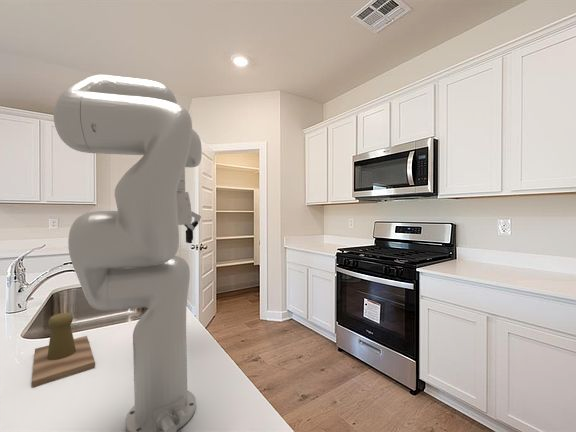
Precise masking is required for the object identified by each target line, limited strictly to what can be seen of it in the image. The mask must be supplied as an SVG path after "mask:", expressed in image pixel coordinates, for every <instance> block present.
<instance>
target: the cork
mask: <svg viewBox="0 0 576 432" xmlns="http://www.w3.org/2000/svg"><path fill="white" fill-rule="evenodd" d="M73 321H74V317H73V315H72V313H70V312H62V313H56V314H54V315H52V316H50V317H49V319H48V323H47V324H48V327H49V328H50V334H49V341H48V342H49V343H48V345H49V349H48V356H47V359H49V360H58V359H62V358H65V357H68V356H70V355H72V354H74V353H75V351H76V349H75V344H74V339H75V338H74V335H73V330H72V326H71V325H72V323H73Z"/></svg>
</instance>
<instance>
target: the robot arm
mask: <svg viewBox="0 0 576 432" xmlns="http://www.w3.org/2000/svg"><path fill="white" fill-rule="evenodd" d="M53 122H54V128H55V130H56V132H57V135H58V136H59V138H60V140H61V141H62V142H63V143H64V144H65V145H66V146H68V147H69V148H70V149H73V150H74V151H76V152H81V153H86V154H104V155H127V156H141V158H140V159H139V160H138V161H137V162H136V163H135V164H133V165H131V167H129V169H128V170H127V171H126V172H125V173H124V174H123V175H122V177H121V178H120V179H119V181H118V183H117V184H116V185H115V189H114V198H115V204H116V208H117V210H98V211H97V210H96V211H91V212H86V213H83V214H81V215H80V216H78V217H77V218H76V219H75V220H74V221H73V223H72V224H71V227H70V229H69V233H68V241H67V243H68V246H67V247H68V253H69V258H70V261H71V264H72V266H73V269H74V272H75V275H76V276H77V280H78V281H79V284H80V287H81V289H82V291H83V294H84V297H85V299H86V302H88V305H90V307H91V308H92V309H94V310H96V311H102V312H103V311H114V310H116V311H117V310H118V311H119V310H126V309H135V308H139V309H140V308H147V310H146V311H145V312H144V313H143V315H142V316H141V317H140V318H139V320H138V321H137V323H136V324H135V326H134V329H133V332H132V350H133V351H132V355H133V390H134V392H133V393H134V395H133V397H134V405H133V406H132V407H131V408H130V409H129V411H128V412H127V414H126V417H125V430H126V432H177V431H178V430H179V429H181V428H182V427H184V426H185V425H186V423H188V422H189V421H190V419H191V418H192V417H193V415H194V414H195V411H196V407H197V404H196V403H197V401H196V400H197V399H196V397H195V395H194V394H193V392H191V391H190V390H188V363H187V362H188V360H187V359H188V357H187V356H188V355H187V354H188V353H187V351H188V349H187V306H188V304H187V303H188V295H189V287H190V279H191V278H190V277H191V276H190V275H191V271H190V266H189V263H188V262H187V261H186V259H185V258H183V257H181V256H179V255H177V253H178V250H179V247H180V245H179V244H180V233H179V232H180V231H179V230H180V229H179V226H182V225H183V226H184V227H185V228H186V230H185V243H188V244H192V243H193V241H194V231H195V228H197V226H198V225H199V223H200V220H201V218H202V216H201V215H199V213H196V212H193V211H192V206H191V201H190V200H191V198H190V194H189V191H186V170H185V169H186V168H196V167H198V166H199V165H200V164H201V161H202V154H203V153H202V152H203V151H202V141H201V138H200V136H199V134H198V132H197V131H196V130H195V129H194V128H193V122H192V117H191V115H190V113H189V111H188V110H187V109H186V108H185V107H183V106H182V105H181V104H179V103H178V102H177V99H176V96H175V94H174V93H173V91H172V90H171V89H170V88H169V87H168V86H166V85H165V84H164V83H162V82H159V81H156V80H151V79H145V78H137V77H127V76H119V75H111V74H94V75H91V76H88V77H85V78H83V79H81V80H79V81H78V82H76V83H74V84H73V85H71V86H69V87H67V88H66V89H64V90H63V91H62V92H61V93H60V95H59V96H58V97H57V99H56V102H55V104H54V107H53ZM193 219H194V220H193ZM192 220H193V221H192Z"/></svg>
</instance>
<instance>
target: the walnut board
mask: <svg viewBox="0 0 576 432" xmlns="http://www.w3.org/2000/svg"><path fill="white" fill-rule="evenodd" d="M73 339H74V344H75V349H76V351H75V353H74V354H72V355H70V356H68V357H65V358H62V359H58V360H49V359H47V356H48V349H49V344H48V345H45V346H41V347H37V348H34V356H33V366H32V374H31V375H32V376H31V388H32V389H33V388H36V387H39V386H42V385H45V384H49V383H51V382H55V381H57V380H61V379H64V378H67V377H70V376H73V375H76V374H79V373H84V372H85V371H88V370H92V369H95V368H96V361H95V358H94V354H93V351H92V348H91V344H90V341H89V338H88V335H84V336H80V337H76V338H73Z"/></svg>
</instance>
